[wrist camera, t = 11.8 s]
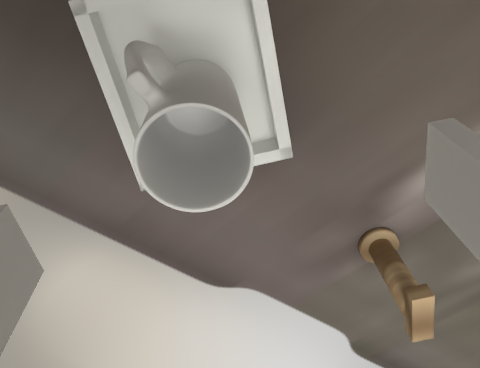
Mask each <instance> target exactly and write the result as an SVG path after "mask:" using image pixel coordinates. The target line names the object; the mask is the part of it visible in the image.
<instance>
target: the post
mask: <svg viewBox="0 0 480 368" xmlns="http://www.w3.org/2000/svg"><path fill="white" fill-rule="evenodd" d="M398 248H399V240H398V238H397V237H396V235H395V234H394V232H393V231H391V230H390V229H388V228H383V227H380V228H374V229H371V230H369V231H368V232H366V233H365V234H364V235H363V236H362V237H361V239H360V241H359V244H358V249H359V251H360V253H361V255H362V257H363V258H364V259H365V260H366V261H368V262H370V263H375V264H376V266H377V268H378V270H379V272H380V273H381V275H382V277H383V279H384V281H385V283H386V284H387V286H388V288H389V290H390V292H391V293H392V295H393V297H394V299H395V301H396V302H397V304H398V306H399V308H400V310H401V311H402V313H403V315H405V329H406V331H407V333H408V335H409V337H410V339H411V341H412V342H417V341H422V340H426V339H431V338H433V336H434V302H435V296H434V294H433V293H432V291H431V290H430V288H429V287H428V285H427V284H422V285H418V284H417V282H416V281H415V279H414V278H413V276H412V275H411V273H410V271H409V270H408V268H407V267H406V265H405V264H404V262H403V261H402V259H401V258H400V256H399V254H398V253H397V251H398Z"/></svg>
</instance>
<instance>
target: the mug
mask: <svg viewBox="0 0 480 368" xmlns="http://www.w3.org/2000/svg"><path fill="white" fill-rule="evenodd" d="M124 61H125V67H126V72H127V78H126V82H127V83H128V85H129V86H130V87H131V88H132V89H133V90H134V91H135V92H136V93H137V94H138V95H140V96H141V97H142V98H143V99H144V100H145V102H146V104H147V106H148V109H149V111H148V113H147V115H146V117H145V119H144V121H143V123H142V126H141V128H140V130H139V132H138V134H137V137H136V139H135V143H134V147H133V164H134V169H135V172H136V175H137V177H138V179H139V181H140V183H141V184H142V186H143V187H144V188H145V190H146V191H147V192H148V193H149V194H150V195H151V196H152V197H153V198H155V199H156V200H157V201H159V202H161V203H162V204H164V205H166V206H168V207H171V208H173V209H176V210H180V211H186V212H205V211H210V210H214V209H217V208H220V207H223V206H225V205H227V204H228V203H230V202H231V201H233V200H234V199H235V198H236V197H237V196H239V194H240V193H241V192H242V191H243V190H244V188H245V187H246V185H247V184H248V182H249V180H250V177H251V175H252V171H253V166H254V151H253V146H252V143H251V139H250V134H249V131H248V127H247V124H246V121H245V118H244V114H243V111H242V108H241V104H240V101H239V97H238V94H237V91H236V89H235V86H234V83H233V81H232V80H231V78H230V76H229V75H228V74H227V73H226V72H225V71H224V70H223V69H222V68H221V67H219V66H218V65H216V64H214V63H212V62H209V61H205V60H189V61H185V62H182V63H180V64H178V65H176V66H175V65H174V64H173V63H172V62H171V61H170V60H169V58H168V57H167V56H166V54H165V53H164V52H163V50H162V49H161V48H160V47H158V46H156V45H153V44H150V43H147V42H144V41H139V40H136V41H132V42H130V43H129V44H127V46H126V47H125V50H124ZM143 61H145V62H146V63H147V64H148V65H149V66H150V67H151V68H152V69H153V71H154V72H155V73H156V74H157V76H158V77H159V79H160V80H161V85H160V86H159V85H158V84H157V83H156V81H155V80H154V79H153V77H152V76H151V75H150V73H149V72H148V70H147V68H146V66H145V64H144V62H143Z"/></svg>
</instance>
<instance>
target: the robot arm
mask: <svg viewBox="0 0 480 368" xmlns="http://www.w3.org/2000/svg"><path fill="white" fill-rule="evenodd" d="M424 199H425V201H426V202H427V203H428V204H429V205H430V206H431V207H432V208H433V210H434V211H435V212H436V213H437V214H438V215H439V216H440V217H441V219H442V220H443V221H444V222H445V223H446V224H447V225H448V226H449V228H450V229H451V230H452V231H453V232H454V233H455V234H456V235H457V237H458V238H459V239H460V240H461V241H462V242H463V243H464V244H465V246H466V247H467V248H468V249H469V250H470V251H471V252H472V253H473V255H474V256H475V257H476V258H477V259H478V260H479V261H480V135H479V134H477V133H476V132H474V131H473V130H471V129H470V128H468V127H467V126H465V125H464V124H462V123H461V122H459V121H458V120H456V119H455V118H449V119H444V120H439V121H434V122H429V123H428V134H427V152H426V170H425V188H424ZM43 271H44V270H43V268H42V266H41V265H40V263H39V261H38V259H37V257H36V256H35V254H34V252H33V250H32V248H31V247H30V245H29V243H28V241H27V239H26V238H25V236H24V234H23V232H22V230H21V228H20V227H19V225H18V223H17V222H16V220H15V218H14V216H13V214H12V212H11V210H10V209H9V207H8V205H7V204H6V205H1V206H0V356H1V354H2V352H3V350H4V348H5V346H6V344H7V342H8V340H9V338H10V336H11V334H12V332H13V330H14V328H15V326H16V324H17V322H18V320H19V318H20V316H21V315H22V312H23V310H24V309H25V306H26V305H27V303H28V301H29V299H30V297H31V295H32V293H33V291H34V289H35V287H36V285H37V283H38V281H39V279H40V277H41V275H42V273H43Z"/></svg>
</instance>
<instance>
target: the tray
mask: <svg viewBox="0 0 480 368" xmlns="http://www.w3.org/2000/svg"><path fill="white" fill-rule="evenodd" d="M68 3H69V5H70V8H71V10H72V13H73V16H74V18H75V21H76V23H77V26H78V28H79V31H80V34H81V36H82V39H83V41H84V44H85V47H86V49H87V52H88V54H89V57H90V59H91V62H92V65H93V67H94V70H95V72H96V75H97V78H98V80H99V83H100V85H101V88H102V90H103V93H104V96H105V98H106V101H107V103H108V106H109V109H110V111H111V114H112V116H113V119H114V121H115V124H116V127H117V129H118V132H119V134H120V137H121V139H122V142H123V145H124V147H125V150H126V152H127V155H128V158H129V160H130V163H131V165H132V168H133V170H134V173H135V176H136V178H137V181H138V183H139V186H140V189H141V191H145V188H144V187H143V186H142V184H141V183H140V181H139V179H138V177H137V175H136V172H135V169H134V164H133V147H134V143H135V139H136V137H137V134H138V132H139V130H140V128H141V126H142V123H143V121H144V119H145V117H146V115H147V113H148V111H149V109H148V106H147V104H146V102H145V100H144V99H143V98H142V97H141V96H140V95H138V94H137V93H136V92H135V91H134V90H133V89H132V88H131V87H130V86H129V85H128V83H127V82H126V78H127V72H126V67H125V61H124V50H125V47H126V46H127V44H129V43H130V42H132V41H136V40H139V41H144V42H147V43H150V44H153V45H156V46H158V47H160V48H161V49H162V50H163V52H164V53H165V54H166V56H167V57H168V58H169V60H170V61H171V62H172V63H173V64H174V65H175V66H176V65H178V64H180V63H182V62H185V61H189V60H205V61H209V62H212V63H214V64H216V65H218V66H219V67H221V68H222V69H223V70H224V71H225V72H226V73H227V74H228V75H229V76H230V78H231V80H232V81H233V83H234V86H235V89H236V91H237V94H238V97H239V101H240V104H241V108H242V111H243V114H244V118H245V121H246V124H247V127H248V131H249V134H250V139H251V143H252V146H253V151H254V166H256V165H261V164H265V163H270V162H274V161H279V160H283V159H288V158H292V157H293V154H292V148H291V142H290V136H289V130H288V124H287V118H286V112H285V106H284V99H283V93H282V87H281V81H280V75H279V69H278V63H277V57H276V51H275V45H274V39H273V33H272V27H271V21H270V15H269V9H268V3H267V0H70V1H68ZM143 62H144V64H145V66H146V68H147V70H148V72H149V73H150V75H151V76H152V77H153V79H154V80H155V81H156V83H157V84H158V85H159V86H160V85H161V80H160V79H159V77H158V76H157V74H156V73H155V72H154V71H153V69H152V68H151V67H150V66H149V65H148V64H147V63H146V62H145V61H143Z"/></svg>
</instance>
